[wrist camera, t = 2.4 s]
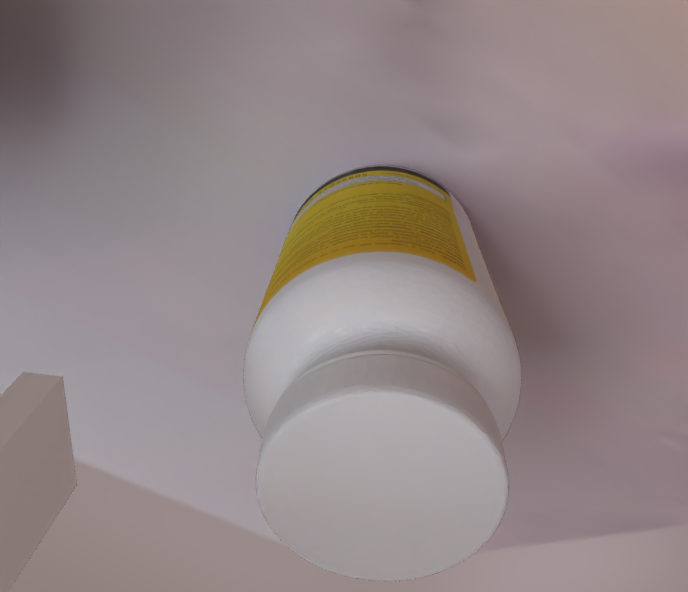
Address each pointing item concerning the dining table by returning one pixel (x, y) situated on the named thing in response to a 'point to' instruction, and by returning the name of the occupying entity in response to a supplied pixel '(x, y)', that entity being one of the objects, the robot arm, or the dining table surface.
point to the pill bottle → (382, 381)
